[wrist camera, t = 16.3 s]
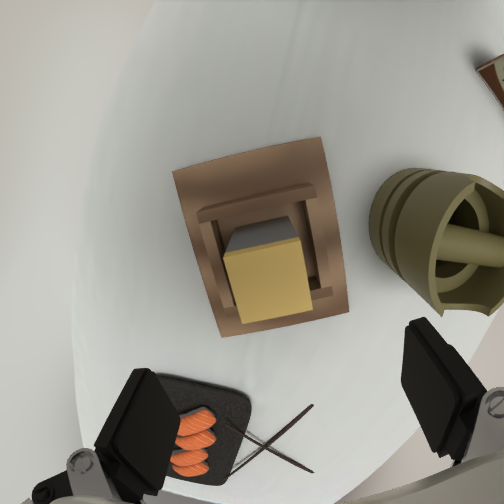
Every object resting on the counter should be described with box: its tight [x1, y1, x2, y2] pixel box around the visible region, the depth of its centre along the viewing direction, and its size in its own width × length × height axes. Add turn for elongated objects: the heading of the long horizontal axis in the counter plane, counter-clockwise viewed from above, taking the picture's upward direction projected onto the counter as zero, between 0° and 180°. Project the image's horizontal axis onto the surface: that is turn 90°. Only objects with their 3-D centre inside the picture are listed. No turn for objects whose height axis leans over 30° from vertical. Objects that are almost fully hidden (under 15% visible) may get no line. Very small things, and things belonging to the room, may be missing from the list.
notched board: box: [172, 137, 349, 338], centre depth 27 cm, size 18×14×4 cm
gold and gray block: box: [223, 216, 313, 324], centre depth 23 cm, size 5×5×9 cm
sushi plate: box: [157, 377, 314, 486], centre depth 37 cm, size 29×30×4 cm
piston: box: [369, 168, 504, 317], centre depth 22 cm, size 11×12×11 cm
